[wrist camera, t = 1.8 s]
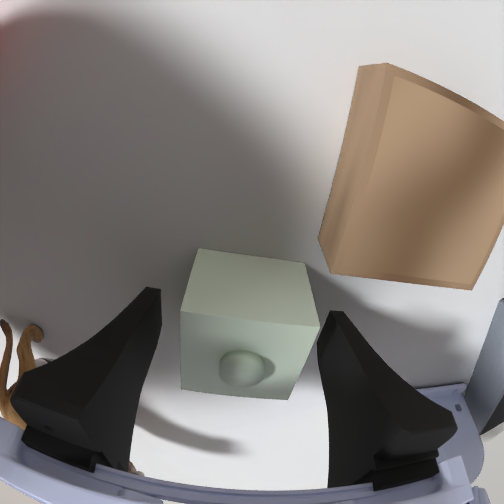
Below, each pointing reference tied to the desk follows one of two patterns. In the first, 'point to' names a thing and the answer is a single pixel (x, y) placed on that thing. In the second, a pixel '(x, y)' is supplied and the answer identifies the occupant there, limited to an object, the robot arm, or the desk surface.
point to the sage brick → (245, 325)
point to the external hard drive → (489, 378)
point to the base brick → (414, 184)
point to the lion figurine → (26, 363)
